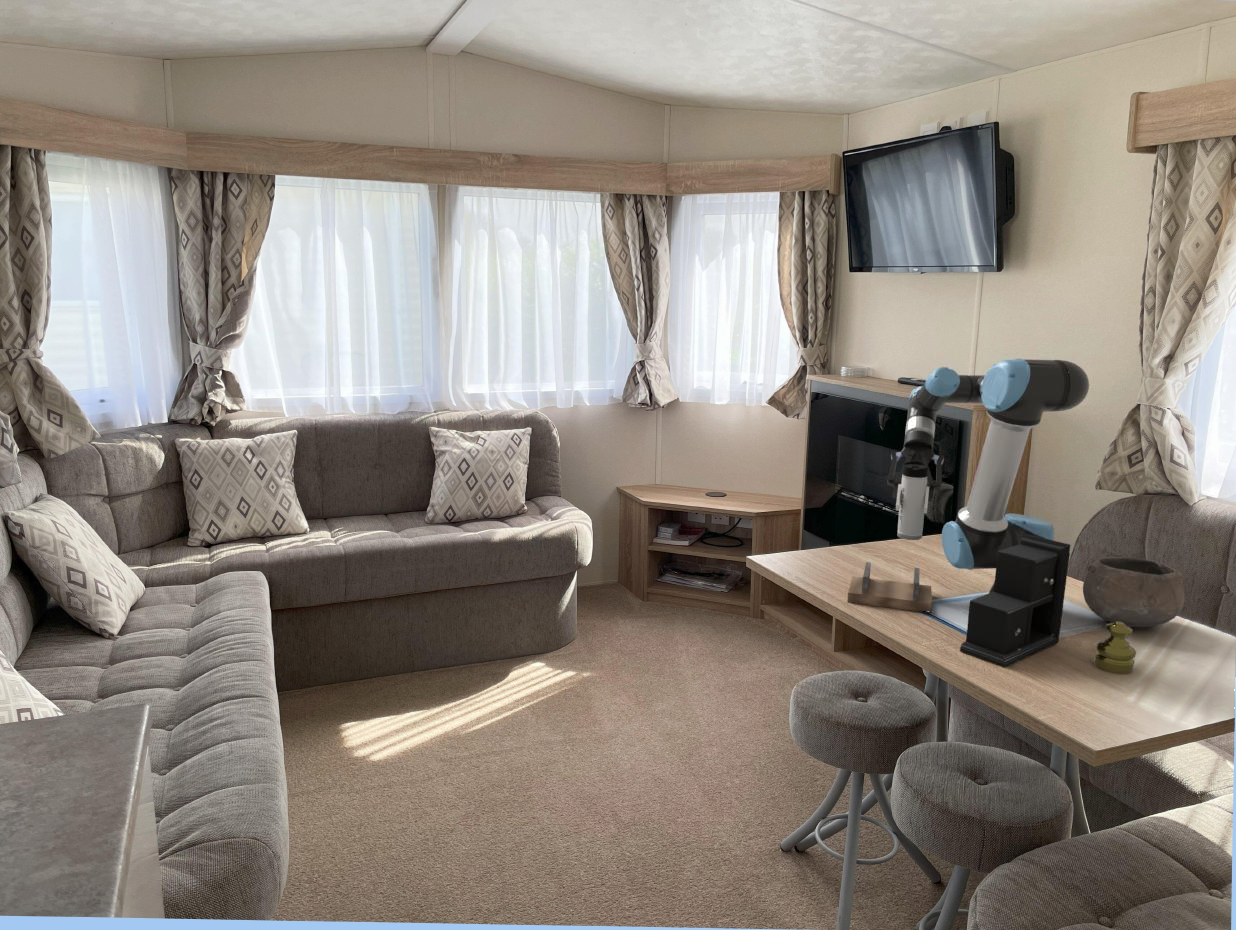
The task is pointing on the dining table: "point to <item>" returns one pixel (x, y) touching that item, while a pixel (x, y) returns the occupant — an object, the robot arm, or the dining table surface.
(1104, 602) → the clay pot
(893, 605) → the wooden rack
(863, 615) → the dining table surface
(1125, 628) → the green coiled snake figurine
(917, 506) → the travel mug
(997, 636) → the black mini cabinet
